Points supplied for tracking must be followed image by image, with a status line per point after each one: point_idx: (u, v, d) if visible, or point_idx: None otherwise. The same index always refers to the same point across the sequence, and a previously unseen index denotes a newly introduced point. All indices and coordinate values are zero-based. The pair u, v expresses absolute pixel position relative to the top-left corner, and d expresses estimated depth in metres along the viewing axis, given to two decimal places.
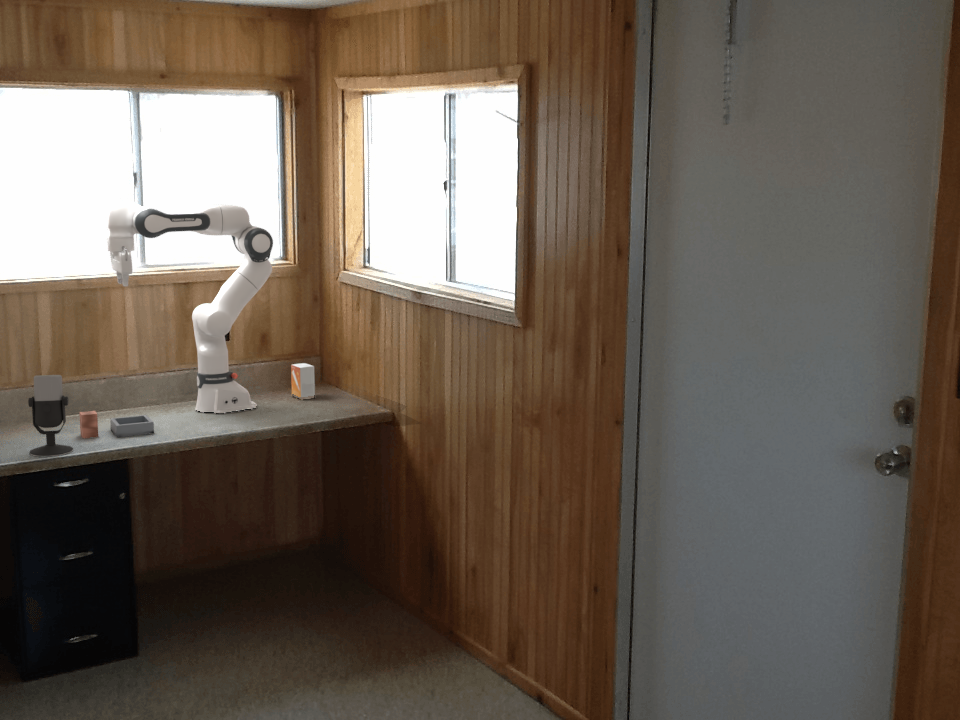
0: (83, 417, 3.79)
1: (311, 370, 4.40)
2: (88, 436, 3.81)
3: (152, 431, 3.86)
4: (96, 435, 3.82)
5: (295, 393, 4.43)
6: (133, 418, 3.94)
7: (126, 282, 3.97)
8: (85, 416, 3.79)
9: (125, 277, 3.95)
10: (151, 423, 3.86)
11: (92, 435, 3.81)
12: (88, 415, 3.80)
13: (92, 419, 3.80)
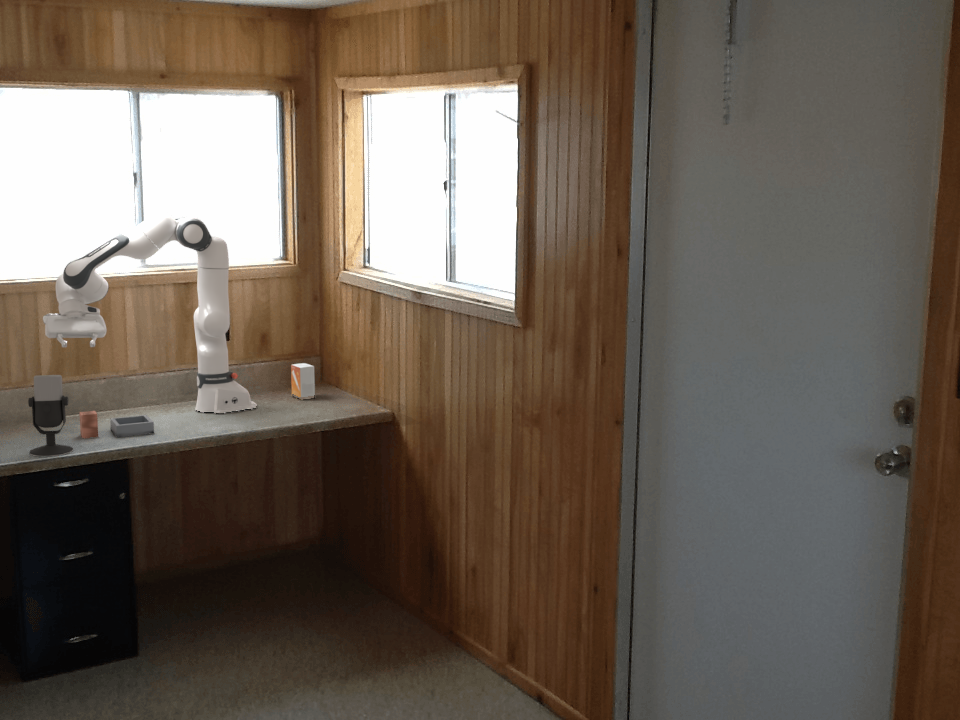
0: (83, 417, 3.79)
1: (311, 370, 4.40)
2: (88, 436, 3.81)
3: (152, 431, 3.86)
4: (96, 435, 3.82)
5: (295, 393, 4.43)
6: (133, 418, 3.94)
7: (62, 342, 3.91)
8: (85, 416, 3.79)
9: (58, 338, 3.91)
10: (151, 423, 3.86)
11: (92, 435, 3.81)
12: (88, 415, 3.80)
13: (92, 419, 3.80)
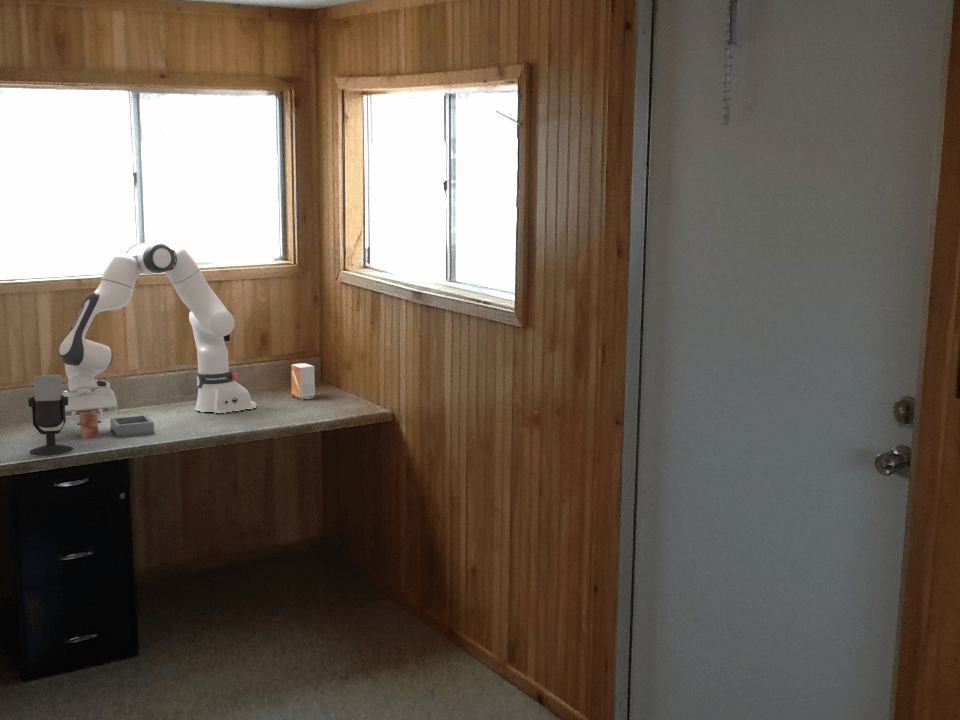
0: (83, 417, 3.79)
1: (311, 369, 4.40)
2: (88, 436, 3.81)
3: (152, 431, 3.86)
4: (96, 435, 3.82)
5: (295, 393, 4.43)
6: (133, 418, 3.94)
7: (76, 420, 3.81)
8: (85, 416, 3.79)
9: (72, 416, 3.82)
10: (151, 423, 3.86)
11: (92, 435, 3.81)
12: (88, 415, 3.79)
13: (92, 419, 3.80)
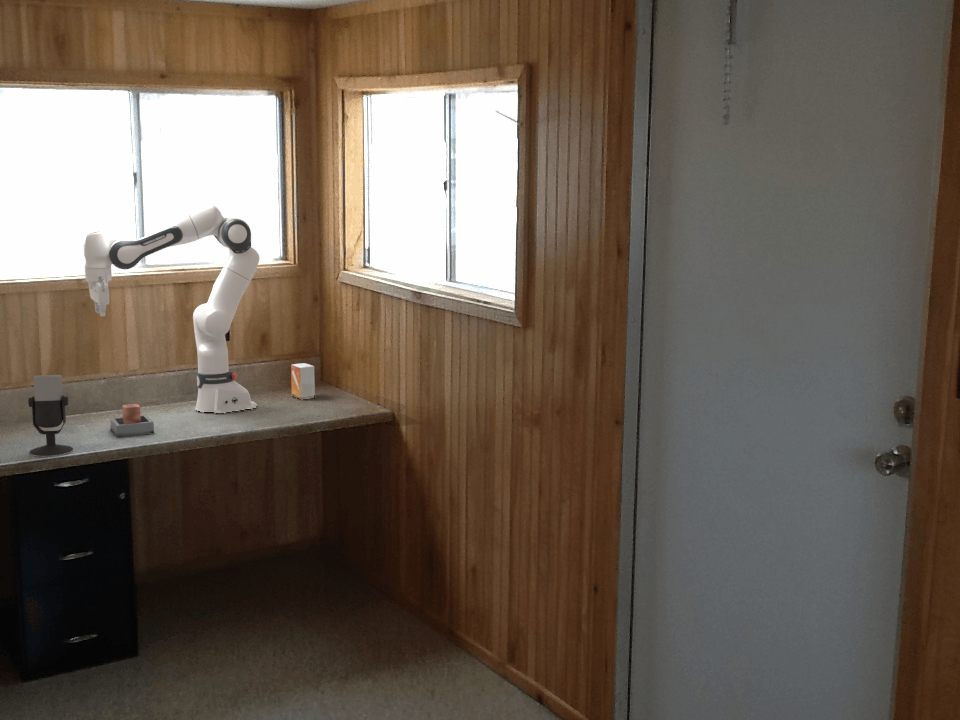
0: (126, 410, 3.85)
1: (311, 370, 4.40)
2: None
3: (152, 431, 3.86)
4: None
5: (295, 393, 4.43)
6: None
7: (103, 312, 4.01)
8: (128, 409, 3.85)
9: (102, 307, 3.99)
10: (151, 423, 3.86)
11: None
12: (131, 408, 3.86)
13: (135, 412, 3.86)
